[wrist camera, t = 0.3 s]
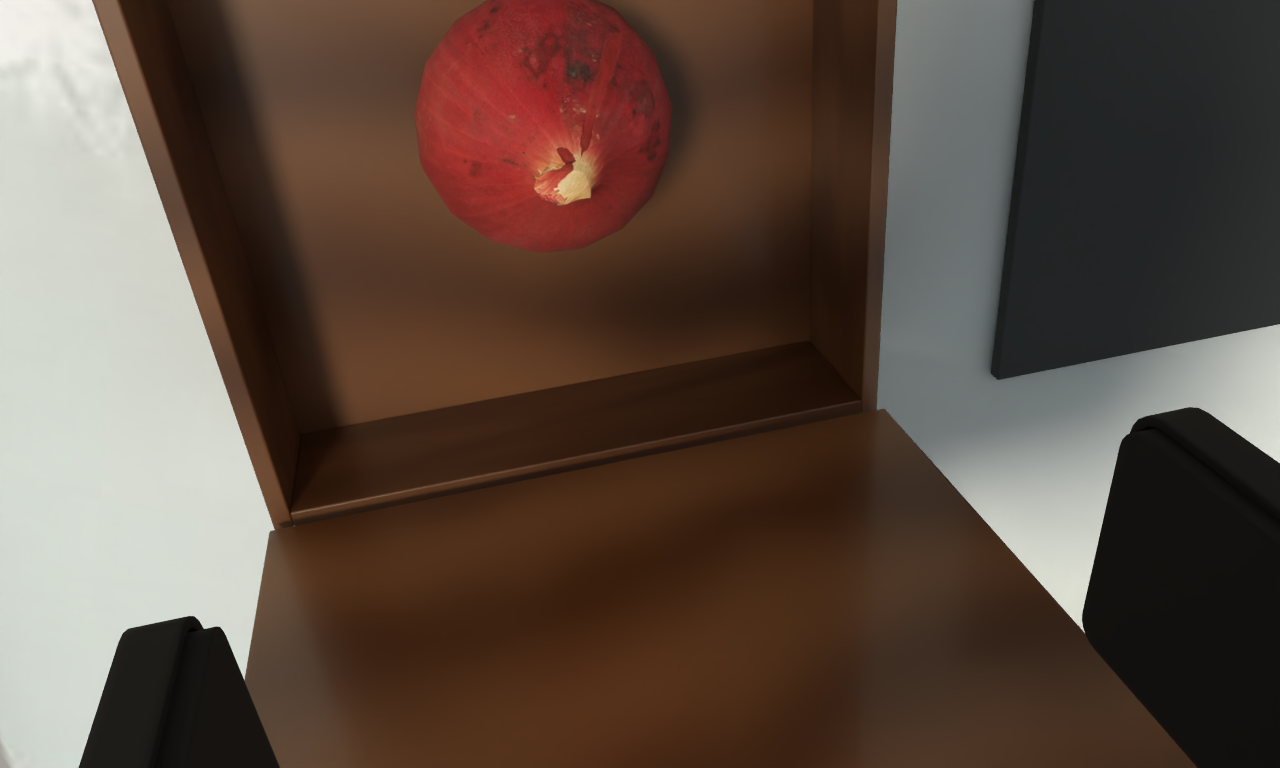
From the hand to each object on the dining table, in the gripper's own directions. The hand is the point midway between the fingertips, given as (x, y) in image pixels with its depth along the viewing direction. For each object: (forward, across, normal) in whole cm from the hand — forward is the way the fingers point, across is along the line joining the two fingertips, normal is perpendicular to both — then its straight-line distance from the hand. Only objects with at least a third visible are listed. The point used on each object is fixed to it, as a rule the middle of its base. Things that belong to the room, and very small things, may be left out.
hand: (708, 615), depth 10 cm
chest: (+19, -1, -1) cm, 19 cm away
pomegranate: (+19, -1, -1) cm, 19 cm away
